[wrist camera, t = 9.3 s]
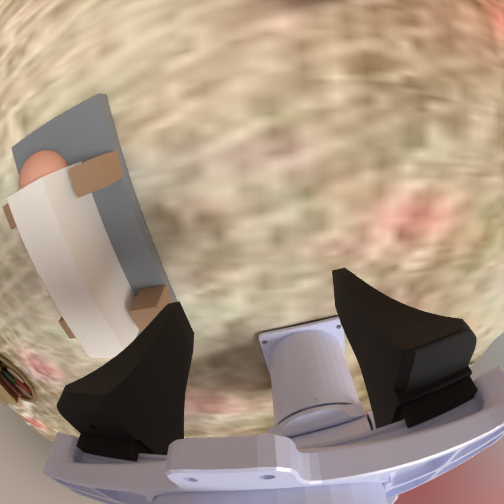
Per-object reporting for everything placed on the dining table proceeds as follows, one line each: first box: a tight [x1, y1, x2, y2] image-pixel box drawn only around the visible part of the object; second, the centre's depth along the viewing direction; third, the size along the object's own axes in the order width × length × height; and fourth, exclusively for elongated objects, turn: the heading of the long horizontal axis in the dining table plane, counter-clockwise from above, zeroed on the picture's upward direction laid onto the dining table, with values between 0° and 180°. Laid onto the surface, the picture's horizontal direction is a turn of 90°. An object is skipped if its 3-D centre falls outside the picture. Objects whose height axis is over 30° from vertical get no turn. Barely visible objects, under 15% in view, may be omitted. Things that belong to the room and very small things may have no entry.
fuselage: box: [7, 150, 139, 358], centre depth 18 cm, size 16×4×5 cm, turn 13°
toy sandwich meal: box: [0, 355, 36, 405], centre depth 31 cm, size 12×14×5 cm
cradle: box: [3, 94, 178, 338], centre depth 20 cm, size 22×10×4 cm, turn 13°
